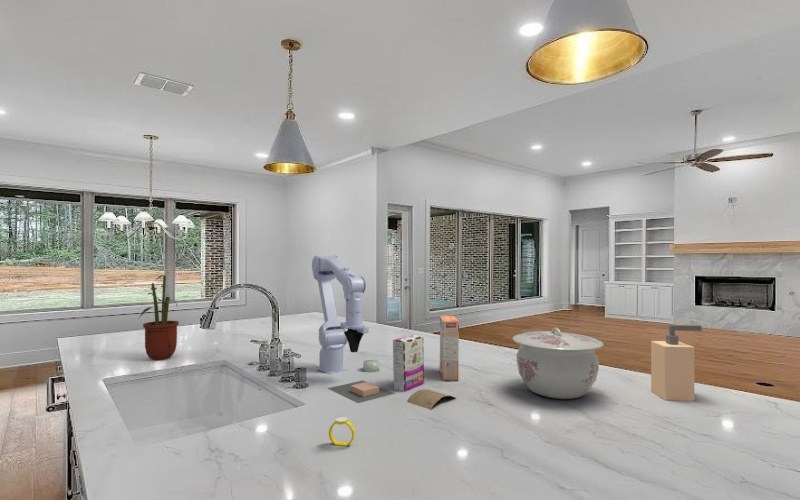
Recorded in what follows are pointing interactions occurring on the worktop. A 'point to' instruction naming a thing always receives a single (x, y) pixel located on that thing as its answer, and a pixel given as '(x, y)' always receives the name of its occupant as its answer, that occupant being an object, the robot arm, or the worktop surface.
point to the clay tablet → (425, 398)
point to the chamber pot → (557, 363)
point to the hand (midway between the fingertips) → (354, 351)
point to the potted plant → (160, 329)
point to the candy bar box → (408, 362)
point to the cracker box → (449, 348)
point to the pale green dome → (371, 366)
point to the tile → (364, 389)
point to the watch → (341, 421)
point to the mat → (346, 392)
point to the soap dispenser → (673, 366)
